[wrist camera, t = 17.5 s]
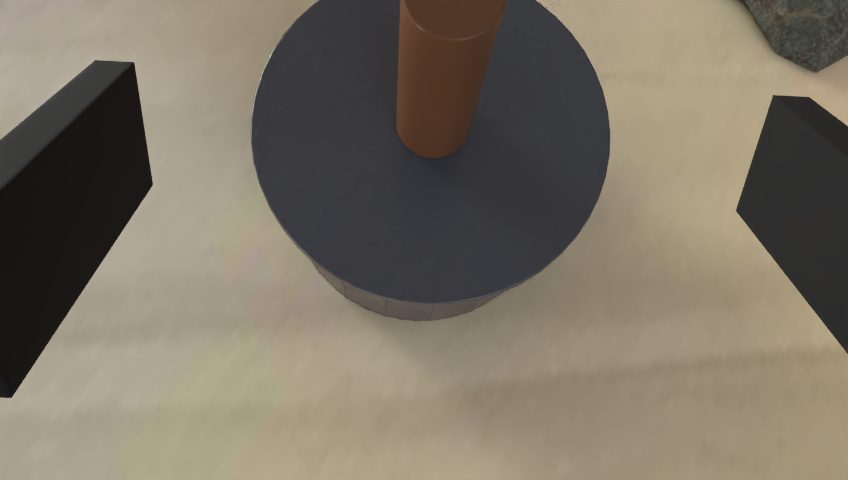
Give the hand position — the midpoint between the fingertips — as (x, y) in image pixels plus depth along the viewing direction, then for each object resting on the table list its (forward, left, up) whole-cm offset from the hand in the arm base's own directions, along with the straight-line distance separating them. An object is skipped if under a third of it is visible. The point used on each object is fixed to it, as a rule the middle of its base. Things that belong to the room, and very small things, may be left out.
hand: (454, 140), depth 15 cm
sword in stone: (+12, +25, -21) cm, 35 cm away
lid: (-2, +5, -12) cm, 13 cm away
